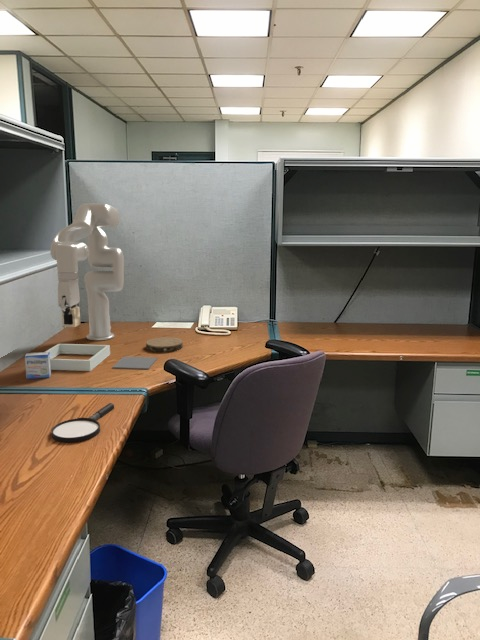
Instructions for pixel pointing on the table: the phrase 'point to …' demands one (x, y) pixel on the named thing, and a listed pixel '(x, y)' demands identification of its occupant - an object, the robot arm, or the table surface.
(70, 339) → the table surface
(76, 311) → the maple block
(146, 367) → the mat
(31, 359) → the medicine box
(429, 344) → the table surface
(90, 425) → the magnifying glass
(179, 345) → the tambourine
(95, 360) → the white shallow tray
